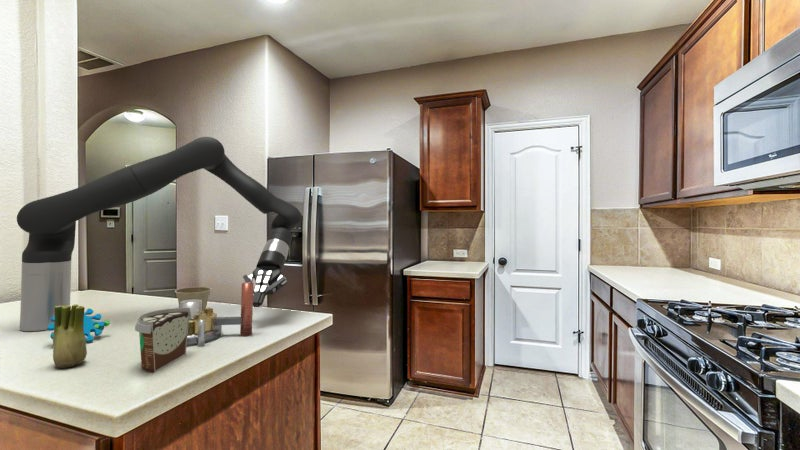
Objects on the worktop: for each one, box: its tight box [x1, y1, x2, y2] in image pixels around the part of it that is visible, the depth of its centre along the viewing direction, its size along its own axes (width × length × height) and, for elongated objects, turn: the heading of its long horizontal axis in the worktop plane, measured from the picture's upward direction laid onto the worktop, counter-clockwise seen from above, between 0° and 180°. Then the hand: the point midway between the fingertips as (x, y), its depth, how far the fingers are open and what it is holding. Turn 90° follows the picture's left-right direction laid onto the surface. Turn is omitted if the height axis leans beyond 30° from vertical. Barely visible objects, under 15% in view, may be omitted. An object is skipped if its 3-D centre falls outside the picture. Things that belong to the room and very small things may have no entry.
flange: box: [180, 299, 223, 348], centre depth 87 cm, size 16×14×9 cm
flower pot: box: [174, 286, 212, 311], centre depth 104 cm, size 9×9×9 cm
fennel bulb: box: [52, 303, 88, 369], centre depth 70 cm, size 6×5×12 cm
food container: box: [134, 307, 191, 374], centre depth 72 cm, size 12×6×10 cm, turn 178°
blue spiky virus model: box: [46, 308, 111, 343], centre depth 83 cm, size 11×6×10 cm
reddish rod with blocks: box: [188, 281, 254, 337], centre depth 89 cm, size 20×11×13 cm, turn 104°
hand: (255, 305), depth 96 cm, fingers closed
